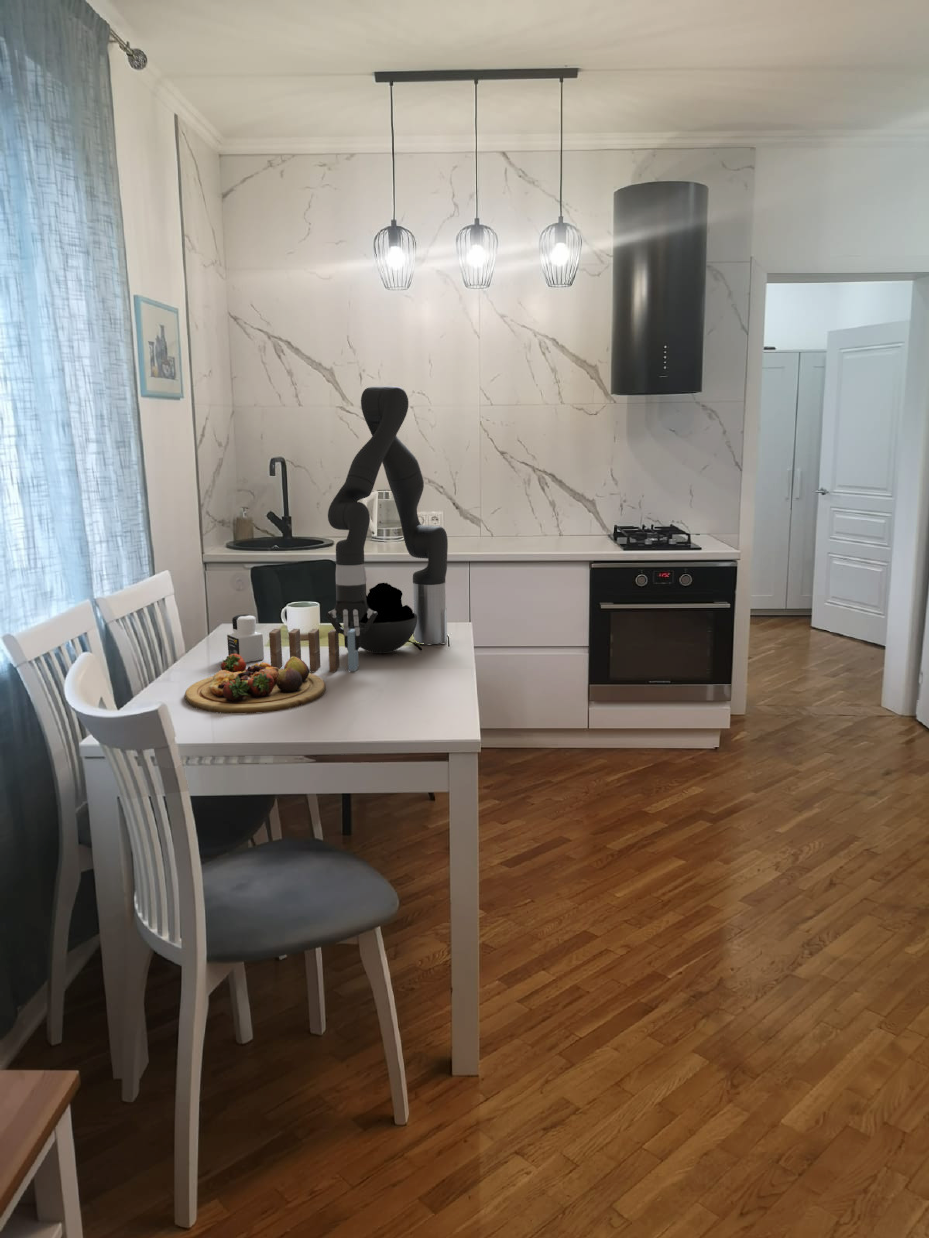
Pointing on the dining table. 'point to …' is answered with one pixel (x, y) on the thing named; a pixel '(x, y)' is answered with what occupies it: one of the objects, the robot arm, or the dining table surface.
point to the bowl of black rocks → (387, 620)
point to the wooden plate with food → (255, 687)
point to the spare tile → (352, 651)
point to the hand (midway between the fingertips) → (353, 649)
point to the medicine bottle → (245, 639)
